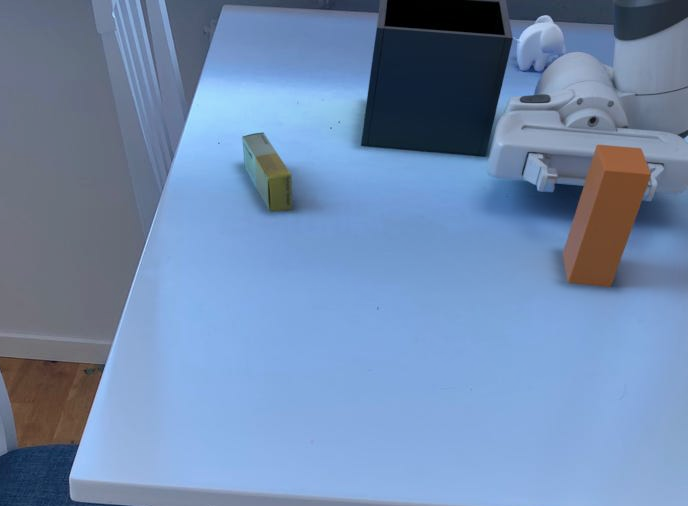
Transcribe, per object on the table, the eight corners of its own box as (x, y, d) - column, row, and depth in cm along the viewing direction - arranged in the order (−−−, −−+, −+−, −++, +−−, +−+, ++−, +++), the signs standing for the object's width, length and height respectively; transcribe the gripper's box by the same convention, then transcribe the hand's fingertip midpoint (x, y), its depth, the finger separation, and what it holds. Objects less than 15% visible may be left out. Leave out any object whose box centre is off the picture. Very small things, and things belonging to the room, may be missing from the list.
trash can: (479, 117, 120) (505, 0, 111) (484, 162, 110) (513, 38, 101) (365, 108, 121) (381, -9, 112) (359, 151, 112) (376, 27, 102)
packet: (601, 264, 94) (641, 147, 86) (608, 293, 90) (651, 174, 82) (560, 260, 94) (596, 144, 86) (566, 289, 90) (604, 170, 82)
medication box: (242, 172, 107) (241, 134, 104) (266, 168, 107) (264, 130, 104) (269, 215, 99) (267, 176, 96) (293, 211, 99) (293, 172, 96)
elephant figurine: (566, 78, 131) (579, 29, 127) (508, 75, 131) (519, 26, 127) (558, 62, 135) (571, 14, 131) (502, 59, 136) (513, 11, 131)
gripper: (670, 174, 102) (694, 230, 93) (480, 158, 104) (484, 211, 95) (693, 111, 97) (721, 164, 88) (494, 95, 99) (500, 145, 90)
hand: (597, 188), depth 92 cm, fingers open, 8 cm apart
